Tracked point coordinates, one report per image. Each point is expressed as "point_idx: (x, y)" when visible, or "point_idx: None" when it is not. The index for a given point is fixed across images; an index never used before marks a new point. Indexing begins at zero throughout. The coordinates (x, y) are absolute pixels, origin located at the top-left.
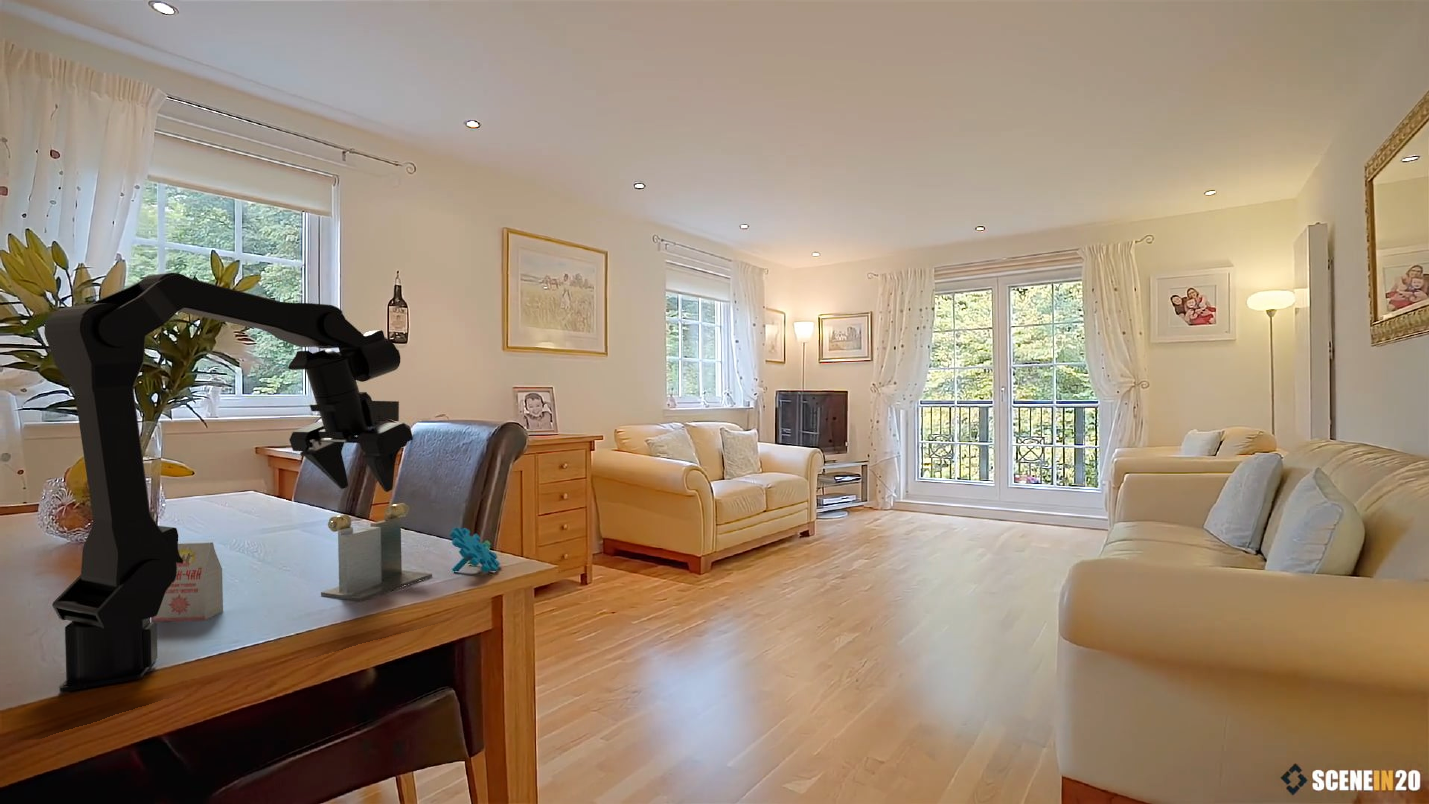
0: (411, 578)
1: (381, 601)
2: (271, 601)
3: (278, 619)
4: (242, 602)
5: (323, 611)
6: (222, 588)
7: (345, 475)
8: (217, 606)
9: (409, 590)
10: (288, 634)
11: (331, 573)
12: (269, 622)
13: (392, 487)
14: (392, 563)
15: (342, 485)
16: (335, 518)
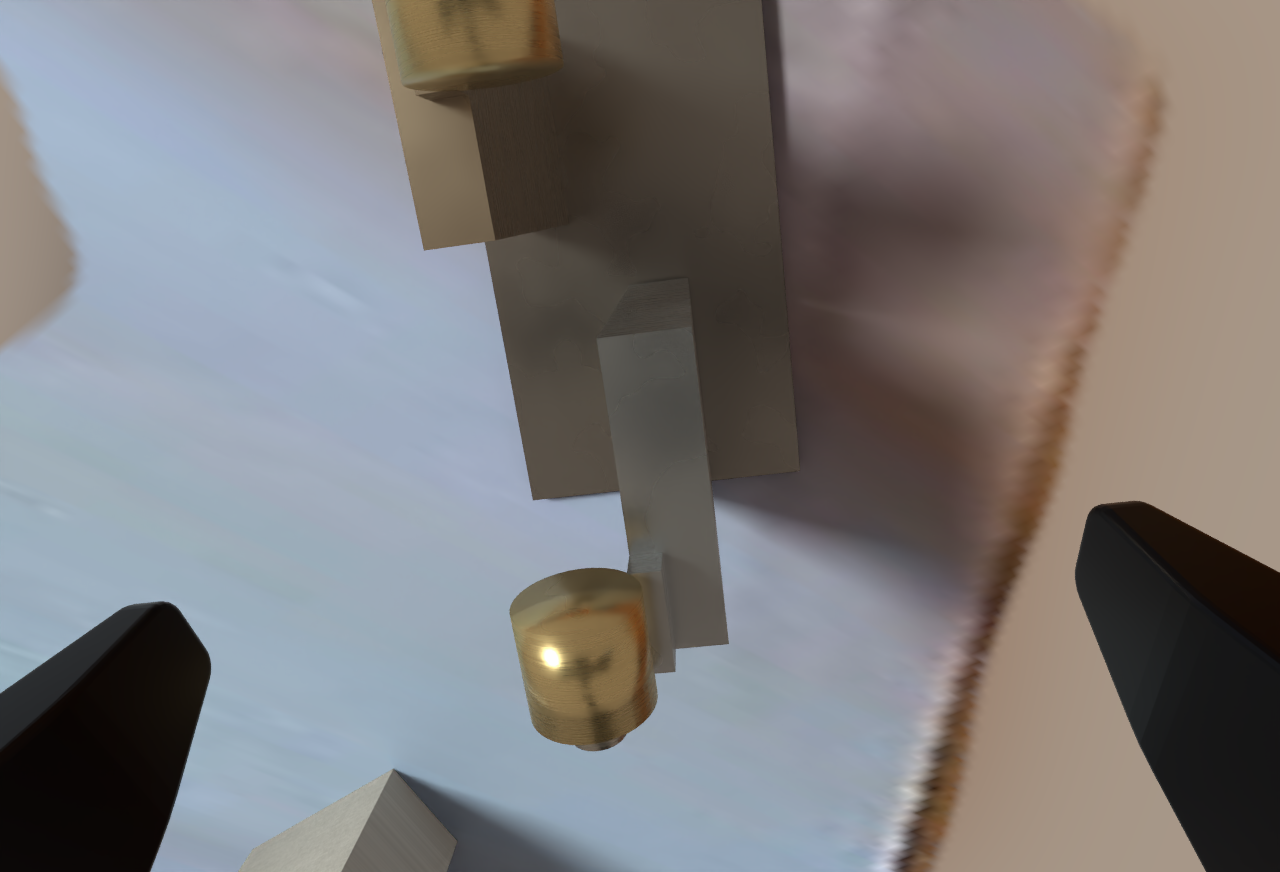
0: (729, 100)
1: (887, 413)
2: (425, 631)
3: (700, 735)
4: (336, 688)
5: (770, 611)
6: (358, 838)
7: (45, 747)
8: (404, 812)
9: (862, 223)
10: (904, 802)
11: (147, 226)
12: (704, 765)
13: (1165, 518)
14: (537, 96)
15: (180, 696)
16: (610, 734)
